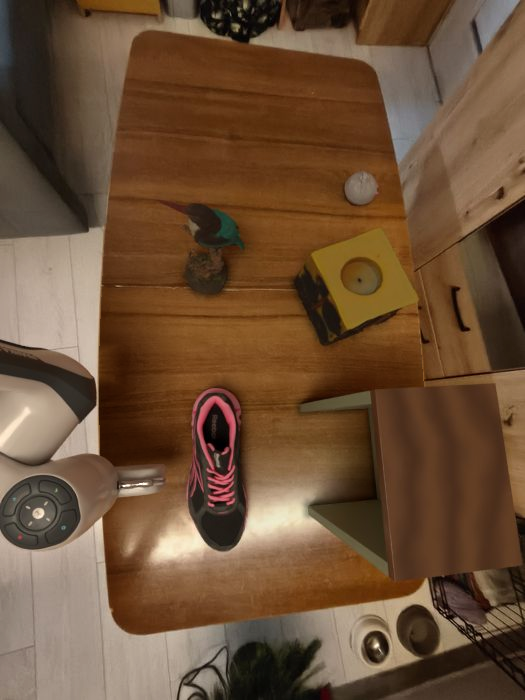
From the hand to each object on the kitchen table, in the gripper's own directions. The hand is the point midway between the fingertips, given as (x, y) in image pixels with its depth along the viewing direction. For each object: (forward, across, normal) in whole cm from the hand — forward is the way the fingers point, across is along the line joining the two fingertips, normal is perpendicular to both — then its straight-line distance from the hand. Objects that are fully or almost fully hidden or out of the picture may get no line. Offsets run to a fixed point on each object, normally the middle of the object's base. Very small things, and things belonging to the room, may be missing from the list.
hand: (104, 476), depth 69 cm
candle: (+5, -44, -30) cm, 54 cm away
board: (-28, -42, 0) cm, 50 cm away
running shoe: (+5, -18, 0) cm, 19 cm away
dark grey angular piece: (+5, -42, 0) cm, 42 cm away
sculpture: (+5, -17, -36) cm, 40 cm away
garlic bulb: (+5, -50, -53) cm, 73 cm away
